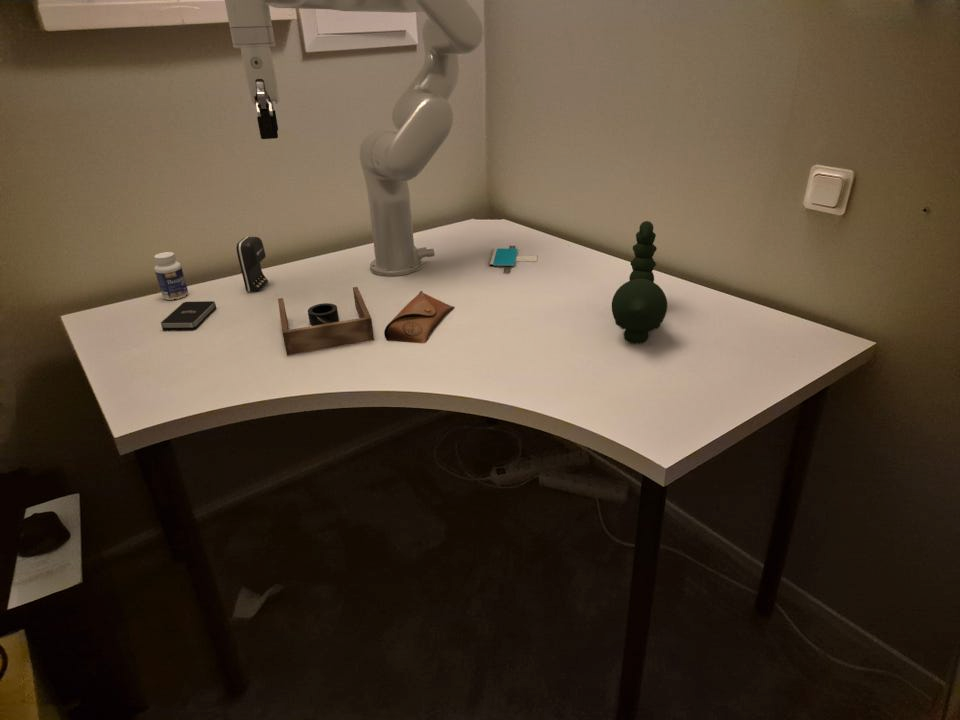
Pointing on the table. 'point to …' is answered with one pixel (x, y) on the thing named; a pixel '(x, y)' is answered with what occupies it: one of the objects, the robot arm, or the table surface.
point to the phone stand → (508, 258)
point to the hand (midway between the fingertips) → (270, 134)
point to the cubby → (328, 330)
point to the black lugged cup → (323, 314)
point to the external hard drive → (188, 315)
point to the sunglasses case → (417, 320)
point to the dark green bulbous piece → (640, 292)
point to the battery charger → (251, 262)
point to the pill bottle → (170, 276)
